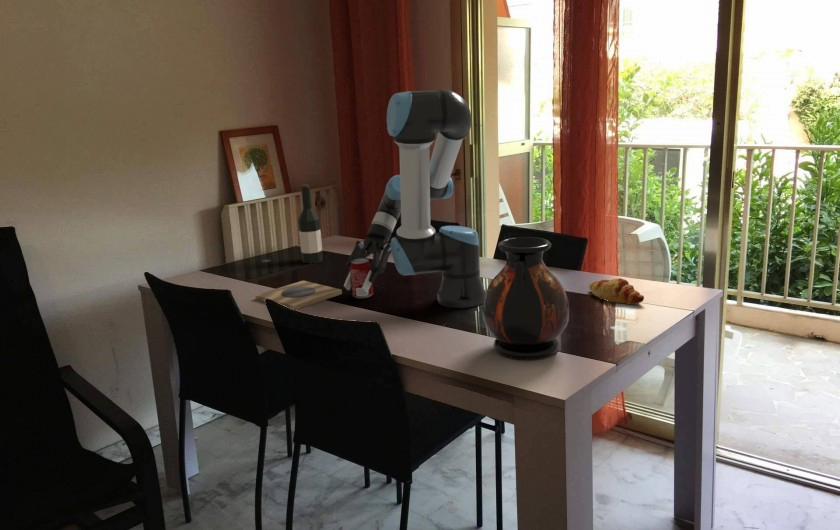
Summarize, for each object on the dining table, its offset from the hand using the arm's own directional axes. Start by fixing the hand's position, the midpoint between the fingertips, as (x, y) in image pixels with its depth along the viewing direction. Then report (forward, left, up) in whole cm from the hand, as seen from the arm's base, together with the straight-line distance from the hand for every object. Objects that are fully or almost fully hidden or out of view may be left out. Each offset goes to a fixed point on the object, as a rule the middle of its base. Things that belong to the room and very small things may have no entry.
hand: (355, 289), depth 233 cm
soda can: (+1, -3, -4) cm, 5 cm away
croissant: (-67, -45, -4) cm, 81 cm away
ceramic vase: (-68, +5, -4) cm, 69 cm away
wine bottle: (+52, -24, -4) cm, 57 cm away
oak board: (+19, +9, -3) cm, 21 cm away
